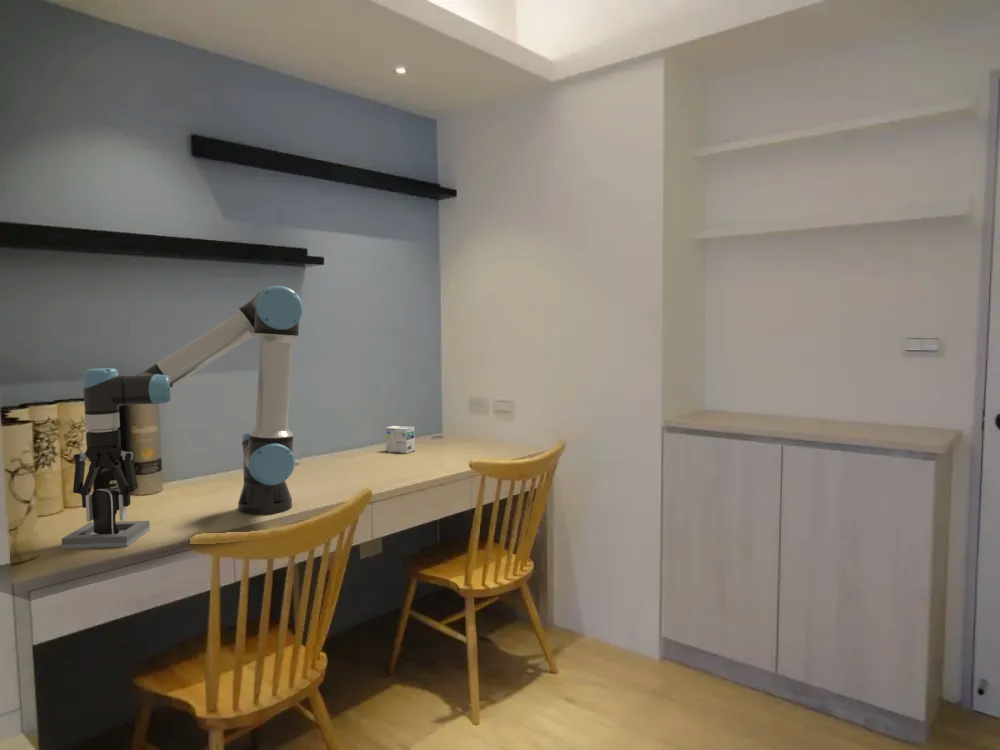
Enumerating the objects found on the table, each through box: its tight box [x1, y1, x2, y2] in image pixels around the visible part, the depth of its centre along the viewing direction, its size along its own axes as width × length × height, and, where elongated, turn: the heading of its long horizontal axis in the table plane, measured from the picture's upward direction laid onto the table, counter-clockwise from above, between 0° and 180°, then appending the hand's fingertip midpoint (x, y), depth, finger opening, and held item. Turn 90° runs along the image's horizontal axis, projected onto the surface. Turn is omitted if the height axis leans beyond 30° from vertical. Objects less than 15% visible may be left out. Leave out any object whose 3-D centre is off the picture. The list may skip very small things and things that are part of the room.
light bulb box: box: [385, 425, 416, 454], centre depth 297 cm, size 11×7×11 cm, turn 66°
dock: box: [61, 520, 151, 550], centre depth 176 cm, size 15×14×2 cm
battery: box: [91, 487, 121, 534], centre depth 176 cm, size 7×4×11 cm, turn 63°
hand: (107, 519), depth 176 cm, fingers closed on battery, 7 cm apart
